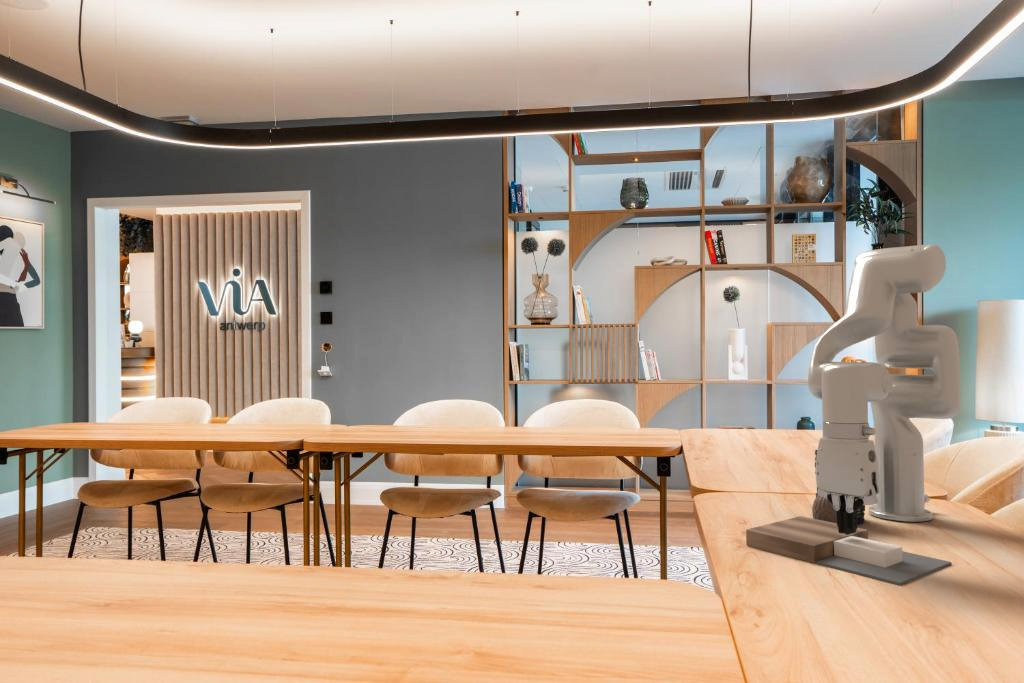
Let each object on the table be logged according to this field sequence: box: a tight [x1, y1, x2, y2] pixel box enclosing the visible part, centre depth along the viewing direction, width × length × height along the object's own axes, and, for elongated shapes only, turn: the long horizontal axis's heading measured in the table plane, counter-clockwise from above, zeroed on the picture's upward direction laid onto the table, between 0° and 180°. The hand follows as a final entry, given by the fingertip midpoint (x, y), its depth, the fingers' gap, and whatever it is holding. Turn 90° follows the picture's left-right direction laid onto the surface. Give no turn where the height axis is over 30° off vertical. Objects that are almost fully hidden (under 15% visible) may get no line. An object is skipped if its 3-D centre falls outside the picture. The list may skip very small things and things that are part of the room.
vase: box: [811, 495, 837, 523], centre depth 143 cm, size 7×7×9 cm
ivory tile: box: [834, 536, 903, 567], centre depth 122 cm, size 6×9×2 cm, turn 35°
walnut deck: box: [745, 515, 869, 564], centre depth 131 cm, size 18×14×3 cm
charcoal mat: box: [816, 550, 952, 586], centre depth 119 cm, size 18×14×1 cm
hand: (847, 532), depth 125 cm, fingers closed
